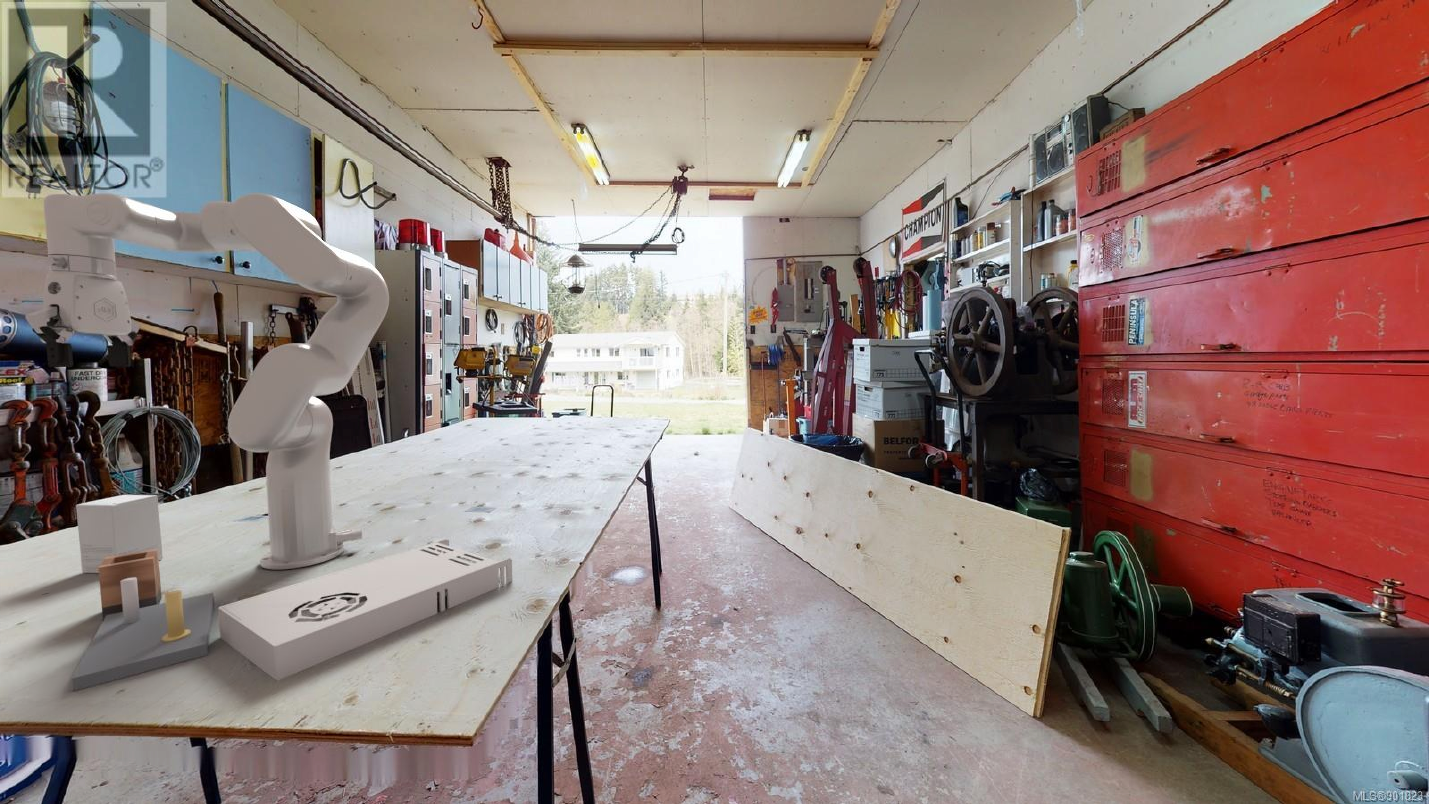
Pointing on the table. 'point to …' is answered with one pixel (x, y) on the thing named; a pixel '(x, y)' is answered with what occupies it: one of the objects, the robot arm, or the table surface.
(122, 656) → the pin board
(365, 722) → the table surface
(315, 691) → the table surface
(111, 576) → the sleeve
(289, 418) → the robot arm
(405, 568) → the power supply unit
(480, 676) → the table surface
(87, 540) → the supplement box
